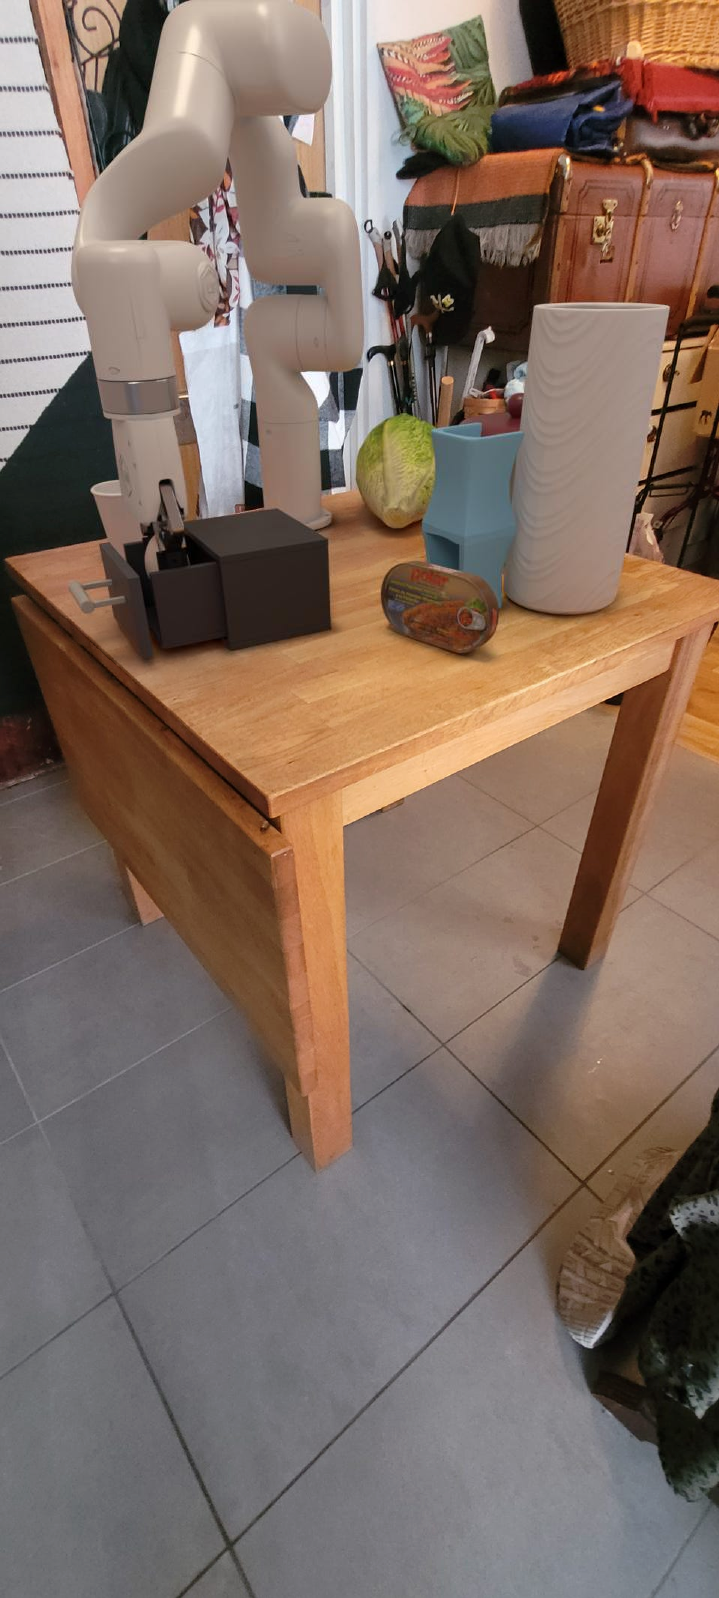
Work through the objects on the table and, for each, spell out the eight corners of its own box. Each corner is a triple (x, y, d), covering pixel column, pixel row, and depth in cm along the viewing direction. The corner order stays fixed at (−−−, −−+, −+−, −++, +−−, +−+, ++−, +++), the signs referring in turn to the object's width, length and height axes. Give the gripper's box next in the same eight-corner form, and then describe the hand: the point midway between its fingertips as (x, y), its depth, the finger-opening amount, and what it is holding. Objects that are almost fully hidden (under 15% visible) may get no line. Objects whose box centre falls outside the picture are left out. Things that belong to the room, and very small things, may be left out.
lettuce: (447, 564, 124) (352, 572, 127) (456, 476, 137) (370, 485, 141) (436, 482, 112) (332, 493, 115) (448, 394, 125) (354, 406, 129)
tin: (378, 627, 91) (379, 556, 86) (395, 619, 93) (397, 549, 88) (482, 663, 83) (489, 587, 78) (499, 654, 84) (507, 579, 80)
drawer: (98, 668, 80) (80, 586, 75) (73, 624, 90) (56, 549, 85) (243, 638, 87) (235, 560, 81) (205, 600, 96) (196, 528, 91)
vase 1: (507, 606, 96) (525, 431, 84) (459, 620, 92) (471, 440, 81) (466, 588, 101) (478, 421, 90) (419, 600, 98) (425, 429, 86)
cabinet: (230, 650, 86) (219, 556, 80) (190, 608, 96) (178, 522, 90) (331, 629, 91) (328, 538, 84) (282, 590, 101) (277, 507, 95)
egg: (141, 594, 87) (130, 534, 83) (172, 581, 90) (163, 523, 86) (171, 603, 84) (161, 542, 80) (202, 589, 88) (194, 530, 84)
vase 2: (543, 625, 91) (587, 310, 73) (481, 587, 102) (505, 304, 83) (640, 606, 95) (704, 306, 77) (570, 571, 106) (612, 300, 88)
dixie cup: (104, 568, 109) (90, 495, 103) (104, 551, 116) (90, 481, 110) (164, 563, 111) (153, 490, 105) (160, 546, 117) (150, 477, 112)
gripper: (83, 389, 80) (117, 562, 91) (123, 414, 68) (157, 610, 79) (154, 383, 83) (179, 551, 94) (204, 406, 71) (226, 597, 81)
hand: (168, 576), depth 86 cm, fingers closed on egg, 4 cm apart
